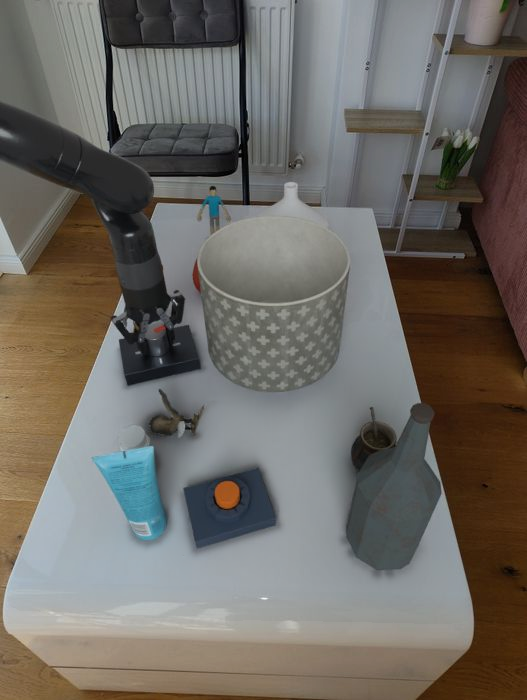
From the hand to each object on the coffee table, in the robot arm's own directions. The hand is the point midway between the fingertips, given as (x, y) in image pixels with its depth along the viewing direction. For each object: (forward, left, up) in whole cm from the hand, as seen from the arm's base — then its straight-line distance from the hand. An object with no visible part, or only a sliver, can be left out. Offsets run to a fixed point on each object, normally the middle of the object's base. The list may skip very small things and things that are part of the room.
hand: (157, 346), depth 99 cm
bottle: (+25, -46, -4) cm, 52 cm away
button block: (+5, -35, -4) cm, 36 cm away
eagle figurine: (0, -17, -4) cm, 17 cm away
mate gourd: (+29, -34, -4) cm, 45 cm away
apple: (+16, +18, -4) cm, 24 cm away
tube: (-7, -34, -4) cm, 35 cm away
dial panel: (0, 0, -4) cm, 4 cm away
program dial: (0, 0, 0) cm, 0 cm away
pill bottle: (-7, -23, -4) cm, 24 cm away
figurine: (+20, +37, -4) cm, 42 cm away
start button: (+5, -35, 0) cm, 35 cm away
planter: (+21, -6, -4) cm, 23 cm away
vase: (+35, +24, -4) cm, 43 cm away
